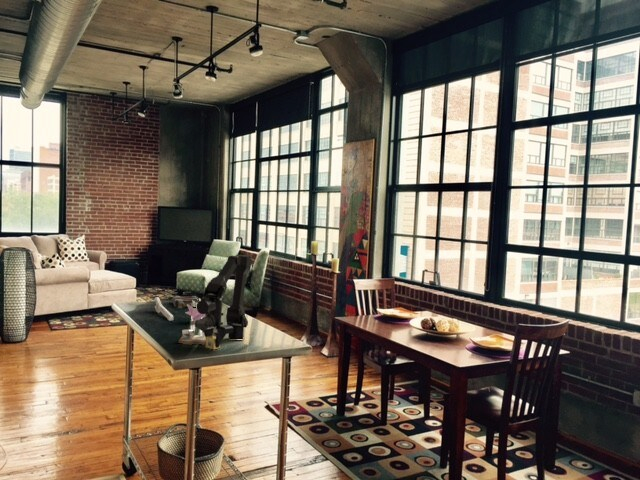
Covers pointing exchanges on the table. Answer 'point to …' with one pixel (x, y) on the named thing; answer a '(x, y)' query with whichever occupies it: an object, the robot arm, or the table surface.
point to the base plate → (195, 339)
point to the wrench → (162, 309)
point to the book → (183, 301)
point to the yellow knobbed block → (211, 342)
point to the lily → (194, 313)
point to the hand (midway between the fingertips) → (213, 346)
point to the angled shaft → (188, 333)
